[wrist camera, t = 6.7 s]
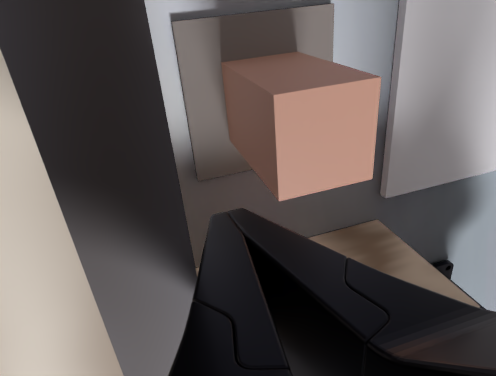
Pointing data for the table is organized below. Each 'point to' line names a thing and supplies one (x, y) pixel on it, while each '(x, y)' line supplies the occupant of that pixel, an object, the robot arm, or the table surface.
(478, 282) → the table surface
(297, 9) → the pad
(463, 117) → the grey mat
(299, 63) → the block
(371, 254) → the rail
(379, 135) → the table surface
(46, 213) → the lid
